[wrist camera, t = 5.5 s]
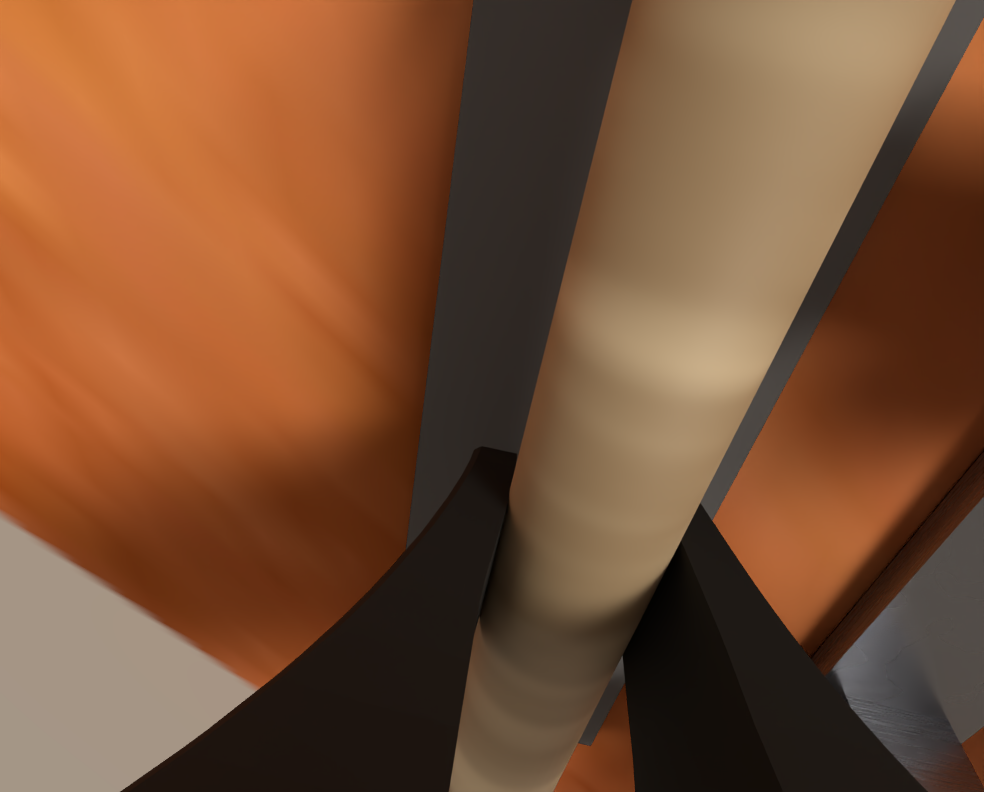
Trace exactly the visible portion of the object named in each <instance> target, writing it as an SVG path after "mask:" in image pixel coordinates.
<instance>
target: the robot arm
mask: <svg viewBox="0 0 984 792" xmlns="http://www.w3.org/2000/svg"><path fill="white" fill-rule="evenodd" d="M516 460H517V453H512V452H507V451H503V450H498V449H494V448H489V447H484V446H481V447H479V448H477V449H475V450H474V451H473V454H472V456H471V459H470V461H469V463H468V465H467V466H466V468H465V470H464V472H463V474H462V475H461V477H460V479H459V480H458V482H457V483H456V485H455V486H454V488H453V489H452V491H451V492H450V494H449V496H448V497H447V498H446V500H445V501H444V502H443V504H442V505H441V507H440V508H439V509H438V511H437V512H436V513H435V515H434V516H433V517H432V519H431V520H430V521H429V523H428V524H427V525H426V527H425V528H424V529H423V530H422V532H421V533H420V534H419V535H418V537H417V538H416V539H415V540H414V541H413V542H412V543H411V545H410V546H409V547H408V548H407V549H406V550H405V552H404V553H403V554H402V555H401V556H400V557H399V559H398V560H397V561H396V562H395V563H394V564H393V566H392V567H391V568H390V569H389V570H388V571H387V572H386V573H385V574H384V575H383V576H382V578H381V579H380V580H379V581H378V582H377V583H376V584H375V585H374V586H373V587H372V588H371V589H370V590H369V591H368V592H367V593H366V594H365V595H364V596H363V597H362V598H361V599H360V600H359V601H358V602H357V603H356V604H355V605H354V606H353V607H352V608H351V609H350V610H349V611H348V612H347V613H346V614H345V615H344V616H343V617H342V618H341V619H340V620H339V621H338V622H337V623H335V624H334V625H333V626H332V627H331V628H330V629H329V630H328V631H327V632H325V633H324V634H323V635H322V636H321V637H320V638H319V639H318V640H317V641H316V642H314V643H313V644H312V645H311V646H310V647H309V648H308V649H307V650H306V651H304V652H303V653H302V654H301V655H300V656H299V657H298V658H296V659H295V660H294V661H293V662H292V663H291V664H289V665H288V666H287V667H286V668H285V669H284V670H282V671H281V672H280V673H279V674H278V675H276V676H275V677H274V678H273V679H271V680H270V681H269V682H268V683H266V684H265V685H264V686H262V687H261V688H260V689H259V690H257V691H256V692H255V693H254V694H252V695H251V696H250V697H249V698H247V699H246V700H245V701H243V702H242V703H241V704H240V705H238V706H237V707H236V708H234V709H233V710H232V711H231V712H230V713H228V714H227V715H226V716H224V717H223V718H222V719H221V720H219V721H218V722H217V723H215V724H214V725H213V726H212V727H210V728H209V729H208V730H207V731H205V732H204V733H203V734H201V735H200V736H198V737H197V738H196V739H194V740H193V741H192V742H190V743H189V744H188V745H186V746H185V747H184V748H182V749H181V750H179V751H178V752H176V753H175V754H173V755H172V756H171V757H169V758H168V759H166V760H165V761H163V762H162V763H161V764H159V765H158V766H156V767H155V768H153V769H152V770H151V771H149V772H148V773H146V774H145V775H143V776H142V777H141V778H139V779H138V780H136V781H135V782H133V783H132V784H131V785H130V786H128V787H126V788H125V789H123V790H122V791H121V792H449V788H450V782H451V776H452V769H453V763H454V757H455V750H456V744H457V737H458V731H459V725H460V719H461V712H462V706H463V700H464V694H465V688H466V682H467V675H468V669H469V663H470V657H471V651H472V645H473V639H474V634H475V630H476V627H477V623H478V619H479V616H480V612H481V608H482V604H483V600H484V596H485V592H486V588H487V584H488V580H489V576H490V572H491V568H492V564H493V561H494V557H495V553H496V549H497V545H498V541H499V537H500V533H501V529H502V525H503V521H504V517H505V513H506V509H507V505H508V501H509V493H510V487H511V483H512V479H513V475H514V471H515V467H516ZM623 666H624V676H625V685H626V695H627V705H628V715H629V725H630V734H631V744H632V754H633V765H634V781H635V792H928V791H927V790H926V789H925V788H924V787H923V786H922V785H921V784H920V783H919V782H918V781H917V780H916V779H915V778H914V777H913V776H912V775H911V774H910V773H909V772H908V770H907V769H906V768H905V767H904V766H903V765H902V764H901V763H900V762H899V761H898V760H897V759H896V758H895V757H894V755H893V754H892V753H891V752H890V751H889V750H888V749H887V748H886V747H885V746H884V745H883V743H882V742H881V741H880V740H879V739H878V738H877V737H876V735H875V734H874V733H873V732H872V731H871V730H870V729H869V728H868V726H867V725H866V724H865V723H864V722H863V721H862V720H861V718H860V717H859V716H858V715H857V714H856V713H855V712H854V710H853V709H852V708H851V707H850V706H849V705H848V704H847V703H846V701H845V700H844V699H843V698H842V697H841V696H840V694H839V693H838V692H837V691H836V690H835V688H834V687H833V686H832V685H831V684H830V682H829V681H828V680H827V679H826V678H825V676H824V675H823V674H822V673H821V671H820V670H819V669H818V668H817V666H816V665H815V664H814V662H813V661H812V660H811V659H810V657H809V656H808V655H807V654H806V652H805V651H804V650H803V648H802V647H801V646H800V645H799V643H798V642H797V641H796V639H795V638H794V637H793V636H792V634H791V633H790V632H789V630H788V629H787V628H786V626H785V625H784V624H783V622H782V621H781V620H780V618H779V617H778V616H777V614H776V613H775V612H774V610H773V609H772V607H771V606H770V605H769V603H768V602H767V600H766V599H765V598H764V596H763V595H762V594H761V592H760V591H759V589H758V588H757V586H756V585H755V584H754V582H753V581H752V579H751V578H750V576H749V575H748V573H747V572H746V571H745V569H744V568H743V566H742V565H741V563H740V562H739V560H738V559H737V557H736V556H735V554H734V553H733V551H732V550H731V548H730V547H729V545H728V544H727V542H726V541H725V539H724V538H723V536H722V535H721V533H720V532H719V530H718V529H717V527H716V526H715V524H714V523H713V521H712V520H711V518H710V517H709V515H708V514H707V512H706V511H705V509H704V507H703V506H702V505H701V503H700V504H699V506H698V508H697V510H696V512H695V514H694V516H693V518H692V520H691V522H690V524H689V526H688V528H687V530H686V532H685V534H684V536H683V537H682V539H681V541H680V543H679V545H678V547H677V549H676V551H675V553H674V555H673V557H672V559H671V561H670V563H669V565H668V567H667V569H666V571H665V573H664V575H663V577H662V579H661V581H660V583H659V585H658V587H657V589H656V591H655V593H654V594H653V596H652V598H651V600H650V602H649V604H648V606H647V608H646V610H645V612H644V614H643V616H642V618H641V620H640V622H639V624H638V626H637V628H636V630H635V632H634V634H633V636H632V638H631V640H630V642H629V644H628V646H627V648H626V649H625V651H624V653H623Z"/></svg>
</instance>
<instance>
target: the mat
mask: <svg viewBox="0 0 984 792" xmlns="http://www.w3.org/2000/svg"><path fill="white" fill-rule="evenodd" d="M631 4H632V0H473V8H472V16H471V24H470V33H469V41H468V49H467V57H466V65H465V73H464V81H463V89H462V97H461V106H460V114H459V122H458V130H457V138H456V146H455V154H454V162H453V171H452V179H451V187H450V195H449V203H448V211H447V219H446V227H445V235H444V244H443V252H442V260H441V268H440V276H439V284H438V292H437V300H436V308H435V317H434V325H433V333H432V341H431V349H430V357H429V365H428V373H427V381H426V390H425V398H424V406H423V414H422V422H421V430H420V438H419V446H418V455H417V463H416V471H415V479H414V487H413V495H412V503H411V511H410V519H409V528H408V536H407V544H406V549H407V548H408V547H409V546H410V545H411V543H412V542H413V541H414V540H415V539H416V538H417V537H418V535H419V534H420V533H421V532H422V530H423V529H424V528H425V527H426V525H427V524H428V523H429V521H430V520H431V519H432V517H433V516H434V515H435V513H436V512H437V511H438V509H439V508H440V507H441V505H442V504H443V502H444V501H445V500H446V498H447V497H448V496H449V494H450V492H451V491H452V489H453V488H454V486H455V485H456V483H457V482H458V480H459V479H460V477H461V475H462V474H463V472H464V470H465V468H466V466H467V465H468V463H469V461H470V459H471V456H472V454H473V451H474V450H475V449H477V448H479V447H481V446H484V447H489V448H494V449H498V450H503V451H507V452H512V453H517V459H518V455H519V451H520V447H521V443H522V439H523V435H524V431H525V427H526V423H527V419H528V415H529V411H530V407H531V403H532V399H533V395H534V391H535V387H536V383H537V379H538V375H539V371H540V367H541V363H542V359H543V355H544V351H545V347H546V343H547V339H548V335H549V331H550V327H551V323H552V319H553V315H554V311H555V307H556V303H557V299H558V295H559V291H560V287H561V283H562V279H563V275H564V271H565V267H566V263H567V259H568V255H569V251H570V247H571V243H572V239H573V235H574V231H575V227H576V223H577V219H578V215H579V212H580V208H581V204H582V200H583V196H584V192H585V188H586V184H587V180H588V176H589V172H590V168H591V164H592V160H593V156H594V152H595V148H596V144H597V140H598V136H599V132H600V128H601V124H602V120H603V116H604V112H605V108H606V104H607V100H608V96H609V92H610V88H611V84H612V80H613V76H614V72H615V68H616V64H617V60H618V56H619V52H620V48H621V44H622V40H623V36H624V32H625V28H626V24H627V20H628V16H629V12H630V8H631ZM983 18H984V0H956V1H955V3H954V5H953V7H952V9H951V11H950V13H949V15H948V17H947V19H946V21H945V23H944V25H943V27H942V29H941V31H940V32H939V34H938V36H937V38H936V40H935V42H934V44H933V46H932V48H931V50H930V52H929V54H928V56H927V58H926V60H925V62H924V64H923V66H922V68H921V70H920V72H919V74H918V76H917V78H916V80H915V82H914V84H913V86H912V87H911V89H910V91H909V93H908V95H907V97H906V99H905V101H904V103H903V105H902V107H901V109H900V111H899V113H898V115H897V117H896V119H895V121H894V123H893V125H892V127H891V129H890V131H889V133H888V135H887V137H886V139H885V141H884V143H883V144H882V146H881V148H880V150H879V152H878V154H877V156H876V158H875V160H874V162H873V164H872V166H871V168H870V170H869V172H868V174H867V176H866V178H865V180H864V182H863V184H862V186H861V188H860V190H859V192H858V194H857V196H856V198H855V199H854V201H853V203H852V205H851V207H850V209H849V211H848V213H847V215H846V217H845V219H844V221H843V223H842V225H841V227H840V229H839V231H838V233H837V235H836V237H835V239H834V241H833V243H832V245H831V247H830V249H829V251H828V253H827V255H826V256H825V258H824V260H823V262H822V264H821V266H820V268H819V270H818V272H817V274H816V276H815V278H814V280H813V282H812V284H811V286H810V288H809V290H808V292H807V294H806V296H805V298H804V300H803V302H802V304H801V306H800V308H799V310H798V312H797V313H796V315H795V317H794V319H793V321H792V323H791V325H790V327H789V329H788V331H787V333H786V335H785V337H784V339H783V341H782V343H781V345H780V347H779V349H778V351H777V353H776V355H775V357H774V359H773V361H772V363H771V365H770V367H769V368H768V370H767V372H766V374H765V376H764V378H763V380H762V382H761V384H760V386H759V388H758V390H757V392H756V394H755V396H754V398H753V400H752V402H751V404H750V406H749V408H748V410H747V412H746V414H745V416H744V418H743V420H742V422H741V424H740V425H739V427H738V429H737V431H736V433H735V435H734V437H733V439H732V441H731V443H730V445H729V447H728V449H727V451H726V453H725V455H724V457H723V459H722V461H721V463H720V465H719V467H718V469H717V471H716V473H715V475H714V477H713V479H712V481H711V482H710V484H709V486H708V488H707V490H706V492H705V494H704V496H703V498H702V500H701V502H700V503H701V505H702V506H703V507H704V509H705V511H706V512H707V514H708V515H709V517H710V518H711V520H713V518H714V516H715V515H716V513H717V511H718V509H719V507H720V505H721V503H722V502H723V500H724V498H725V496H726V494H727V492H728V490H729V489H730V487H731V485H732V483H733V481H734V479H735V477H736V476H737V474H738V472H739V470H740V468H741V466H742V464H743V463H744V461H745V459H746V457H747V455H748V453H749V451H750V450H751V448H752V446H753V444H754V442H755V440H756V439H757V437H758V435H759V433H760V431H761V429H762V427H763V426H764V424H765V422H766V420H767V418H768V416H769V414H770V413H771V411H772V409H773V407H774V405H775V403H776V401H777V400H778V398H779V396H780V394H781V392H782V390H783V388H784V387H785V385H786V383H787V381H788V379H789V377H790V375H791V374H792V372H793V370H794V368H795V366H796V364H797V363H798V361H799V359H800V357H801V355H802V353H803V351H804V350H805V348H806V346H807V344H808V342H809V340H810V338H811V337H812V335H813V333H814V331H815V329H816V327H817V325H818V324H819V322H820V320H821V318H822V316H823V314H824V312H825V311H826V309H827V307H828V305H829V303H830V301H831V299H832V298H833V296H834V294H835V292H836V290H837V288H838V286H839V285H840V283H841V281H842V279H843V277H844V275H845V274H846V272H847V270H848V268H849V266H850V264H851V262H852V261H853V259H854V257H855V255H856V253H857V251H858V249H859V248H860V246H861V244H862V242H863V240H864V238H865V236H866V235H867V233H868V231H869V229H870V227H871V225H872V223H873V222H874V220H875V218H876V216H877V214H878V212H879V210H880V209H881V207H882V205H883V203H884V201H885V199H886V198H887V196H888V194H889V192H890V190H891V188H892V186H893V185H894V183H895V181H896V179H897V177H898V175H899V173H900V172H901V170H902V168H903V166H904V164H905V162H906V160H907V159H908V157H909V155H910V153H911V151H912V149H913V147H914V146H915V144H916V142H917V140H918V138H919V136H920V134H921V133H922V131H923V129H924V127H925V125H926V123H927V122H928V120H929V118H930V116H931V114H932V112H933V110H934V109H935V107H936V105H937V103H938V101H939V99H940V97H941V96H942V94H943V92H944V90H945V88H946V86H947V84H948V83H949V81H950V79H951V77H952V75H953V73H954V71H955V70H956V68H957V66H958V64H959V62H960V60H961V58H962V57H963V55H964V53H965V51H966V49H967V47H968V45H969V44H970V42H971V40H972V38H973V36H974V34H975V33H976V31H977V29H978V27H979V25H980V23H981V21H982V20H983ZM516 463H517V460H516ZM624 683H625V676H624V666H623V655H622V657H621V659H620V661H619V663H618V665H617V667H616V669H615V671H614V673H613V675H612V677H611V679H610V681H609V683H608V685H607V687H606V689H605V691H604V693H603V695H602V697H601V699H600V701H599V703H598V705H597V706H596V708H595V710H594V712H593V714H592V716H591V718H590V720H589V722H588V724H587V726H586V728H585V730H584V732H583V734H582V736H581V738H580V740H579V742H578V743H580V744H584V745H589V746H591V744H592V743H593V741H594V739H595V737H596V735H597V733H598V731H599V730H600V728H601V726H602V724H603V722H604V720H605V718H606V717H607V715H608V713H609V711H610V709H611V707H612V705H613V704H614V702H615V700H616V698H617V696H618V694H619V692H620V691H621V689H622V687H623V685H624Z"/></svg>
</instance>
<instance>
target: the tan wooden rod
mask: <svg viewBox="0 0 984 792" xmlns="http://www.w3.org/2000/svg"><path fill="white" fill-rule="evenodd" d="M955 1H956V0H632V4H631V8H630V12H629V16H628V20H627V24H626V28H625V32H624V36H623V40H622V44H621V48H620V52H619V56H618V60H617V64H616V68H615V72H614V76H613V80H612V84H611V88H610V92H609V96H608V100H607V104H606V108H605V112H604V116H603V120H602V124H601V128H600V132H599V136H598V140H597V144H596V148H595V152H594V156H593V160H592V164H591V168H590V172H589V176H588V180H587V184H586V188H585V192H584V196H583V200H582V204H581V208H580V212H579V215H578V219H577V223H576V227H575V231H574V235H573V239H572V243H571V247H570V251H569V255H568V259H567V263H566V267H565V271H564V275H563V279H562V283H561V287H560V291H559V295H558V299H557V303H556V307H555V311H554V315H553V319H552V323H551V327H550V331H549V335H548V339H547V343H546V347H545V351H544V355H543V359H542V363H541V367H540V371H539V375H538V379H537V383H536V387H535V391H534V395H533V399H532V403H531V407H530V411H529V415H528V419H527V423H526V427H525V431H524V435H523V439H522V443H521V447H520V451H519V455H518V459H517V463H516V467H515V471H514V475H513V479H512V483H511V487H510V493H509V501H508V505H507V509H506V513H505V517H504V521H503V525H502V529H501V533H500V537H499V541H498V545H497V549H496V553H495V557H494V561H493V564H492V568H491V572H490V576H489V580H488V584H487V588H486V592H485V596H484V600H483V604H482V608H481V612H480V616H479V619H478V623H477V627H476V630H475V634H474V639H473V645H472V651H471V657H470V663H469V669H468V675H467V682H466V688H465V694H464V700H463V706H462V712H461V719H460V725H459V731H458V737H457V744H456V750H455V757H454V763H453V769H452V776H451V782H450V788H449V792H553V791H554V789H555V787H556V785H557V783H558V781H559V779H560V777H561V775H562V773H563V771H564V769H565V767H566V765H567V763H568V762H569V760H570V758H571V756H572V754H573V752H574V750H575V748H576V746H577V744H578V742H579V740H580V738H581V736H582V734H583V732H584V730H585V728H586V726H587V724H588V722H589V720H590V718H591V716H592V714H593V712H594V710H595V708H596V706H597V705H598V703H599V701H600V699H601V697H602V695H603V693H604V691H605V689H606V687H607V685H608V683H609V681H610V679H611V677H612V675H613V673H614V671H615V669H616V667H617V665H618V663H619V661H620V659H621V657H622V655H623V653H624V651H625V649H626V648H627V646H628V644H629V642H630V640H631V638H632V636H633V634H634V632H635V630H636V628H637V626H638V624H639V622H640V620H641V618H642V616H643V614H644V612H645V610H646V608H647V606H648V604H649V602H650V600H651V598H652V596H653V594H654V593H655V591H656V589H657V587H658V585H659V583H660V581H661V579H662V577H663V575H664V573H665V571H666V569H667V567H668V565H669V563H670V561H671V559H672V557H673V555H674V553H675V551H676V549H677V547H678V545H679V543H680V541H681V539H682V537H683V536H684V534H685V532H686V530H687V528H688V526H689V524H690V522H691V520H692V518H693V516H694V514H695V512H696V510H697V508H698V506H699V504H700V502H701V500H702V498H703V496H704V494H705V492H706V490H707V488H708V486H709V484H710V482H711V481H712V479H713V477H714V475H715V473H716V471H717V469H718V467H719V465H720V463H721V461H722V459H723V457H724V455H725V453H726V451H727V449H728V447H729V445H730V443H731V441H732V439H733V437H734V435H735V433H736V431H737V429H738V427H739V425H740V424H741V422H742V420H743V418H744V416H745V414H746V412H747V410H748V408H749V406H750V404H751V402H752V400H753V398H754V396H755V394H756V392H757V390H758V388H759V386H760V384H761V382H762V380H763V378H764V376H765V374H766V372H767V370H768V368H769V367H770V365H771V363H772V361H773V359H774V357H775V355H776V353H777V351H778V349H779V347H780V345H781V343H782V341H783V339H784V337H785V335H786V333H787V331H788V329H789V327H790V325H791V323H792V321H793V319H794V317H795V315H796V313H797V312H798V310H799V308H800V306H801V304H802V302H803V300H804V298H805V296H806V294H807V292H808V290H809V288H810V286H811V284H812V282H813V280H814V278H815V276H816V274H817V272H818V270H819V268H820V266H821V264H822V262H823V260H824V258H825V256H826V255H827V253H828V251H829V249H830V247H831V245H832V243H833V241H834V239H835V237H836V235H837V233H838V231H839V229H840V227H841V225H842V223H843V221H844V219H845V217H846V215H847V213H848V211H849V209H850V207H851V205H852V203H853V201H854V199H855V198H856V196H857V194H858V192H859V190H860V188H861V186H862V184H863V182H864V180H865V178H866V176H867V174H868V172H869V170H870V168H871V166H872V164H873V162H874V160H875V158H876V156H877V154H878V152H879V150H880V148H881V146H882V144H883V143H884V141H885V139H886V137H887V135H888V133H889V131H890V129H891V127H892V125H893V123H894V121H895V119H896V117H897V115H898V113H899V111H900V109H901V107H902V105H903V103H904V101H905V99H906V97H907V95H908V93H909V91H910V89H911V87H912V86H913V84H914V82H915V80H916V78H917V76H918V74H919V72H920V70H921V68H922V66H923V64H924V62H925V60H926V58H927V56H928V54H929V52H930V50H931V48H932V46H933V44H934V42H935V40H936V38H937V36H938V34H939V32H940V31H941V29H942V27H943V25H944V23H945V21H946V19H947V17H948V15H949V13H950V11H951V9H952V7H953V5H954V3H955Z"/></svg>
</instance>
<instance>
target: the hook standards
mask: <svg viewBox="0 0 984 792" xmlns="http://www.w3.org/2000/svg"><path fill="white" fill-rule="evenodd" d="M811 660H812V661H813V662H814V664H815V665H816V666H817V668H818V669H819V670H820V671H821V673H822V674H823V675H824V676H825V678H826V679H827V680H828V681H829V682H830V684H831V685H832V686H833V687H834V688H835V690H836V691H837V692H838V693H839V694H840V696H841V697H842V698H843V699H844V700H845V701H846V703H847V704H848V705H849V706H850V707H851V708H852V709H853V710H854V712H855V713H856V714H857V715H858V716H859V717H860V718H861V720H862V721H863V722H864V723H865V724H866V725H867V726H868V728H869V729H870V730H871V731H872V732H873V733H874V734H875V735H876V737H877V738H878V739H879V740H880V741H881V742H882V743H883V745H884V746H885V747H886V748H887V749H888V750H889V751H890V752H891V753H892V754H893V755H894V757H895V758H896V759H897V760H898V761H899V762H900V763H901V764H902V765H903V766H904V767H905V768H906V769H907V770H908V772H909V773H910V774H911V775H912V776H913V777H914V778H915V779H916V780H917V781H918V782H919V783H920V784H921V785H922V786H923V787H924V788H925V789H926V790H927V791H928V792H984V787H983V785H982V783H981V781H980V779H979V778H978V776H977V774H976V772H975V770H974V768H973V766H972V764H971V762H970V761H969V759H968V757H967V755H966V753H965V751H964V749H963V747H962V745H961V744H962V743H963V742H965V741H966V740H967V739H968V738H970V737H971V736H972V735H973V734H975V733H976V732H977V731H979V730H980V729H981V728H982V727H984V452H983V453H982V454H981V455H980V457H979V458H978V459H977V460H976V461H975V463H974V464H973V465H972V466H971V467H970V469H969V470H968V471H967V472H966V473H965V475H964V476H963V477H962V478H961V479H960V481H959V482H958V483H957V484H956V485H955V487H954V488H953V489H952V490H951V491H950V493H949V494H948V495H947V496H946V497H945V499H944V500H943V501H942V502H941V503H940V505H939V506H938V507H937V508H936V509H935V511H934V512H933V513H932V514H931V515H930V517H929V518H928V519H927V520H926V521H925V523H924V524H923V525H922V526H921V527H920V529H919V530H918V531H917V532H916V533H915V535H914V536H913V537H912V538H911V539H910V541H909V542H908V543H907V544H906V545H905V547H904V548H903V549H902V550H901V551H900V553H899V554H898V555H897V556H896V557H895V559H894V560H893V561H892V562H891V563H890V565H889V566H888V567H887V568H886V569H885V571H884V572H883V573H882V574H881V575H880V577H879V578H878V579H877V580H876V581H875V583H874V584H873V585H872V586H871V587H870V589H869V590H868V591H867V592H866V593H865V595H864V596H863V597H862V598H861V599H860V601H859V602H858V603H857V604H856V605H855V607H854V608H853V609H852V610H851V611H850V613H849V614H848V615H847V616H846V617H845V619H844V620H843V621H842V622H841V623H840V625H839V626H838V627H837V628H836V629H835V631H834V632H833V633H832V634H831V635H830V637H829V638H828V639H827V640H826V641H825V643H824V644H823V645H822V646H821V647H820V649H819V650H818V651H817V652H816V653H815V655H814V656H813V657H812V658H811Z"/></svg>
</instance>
